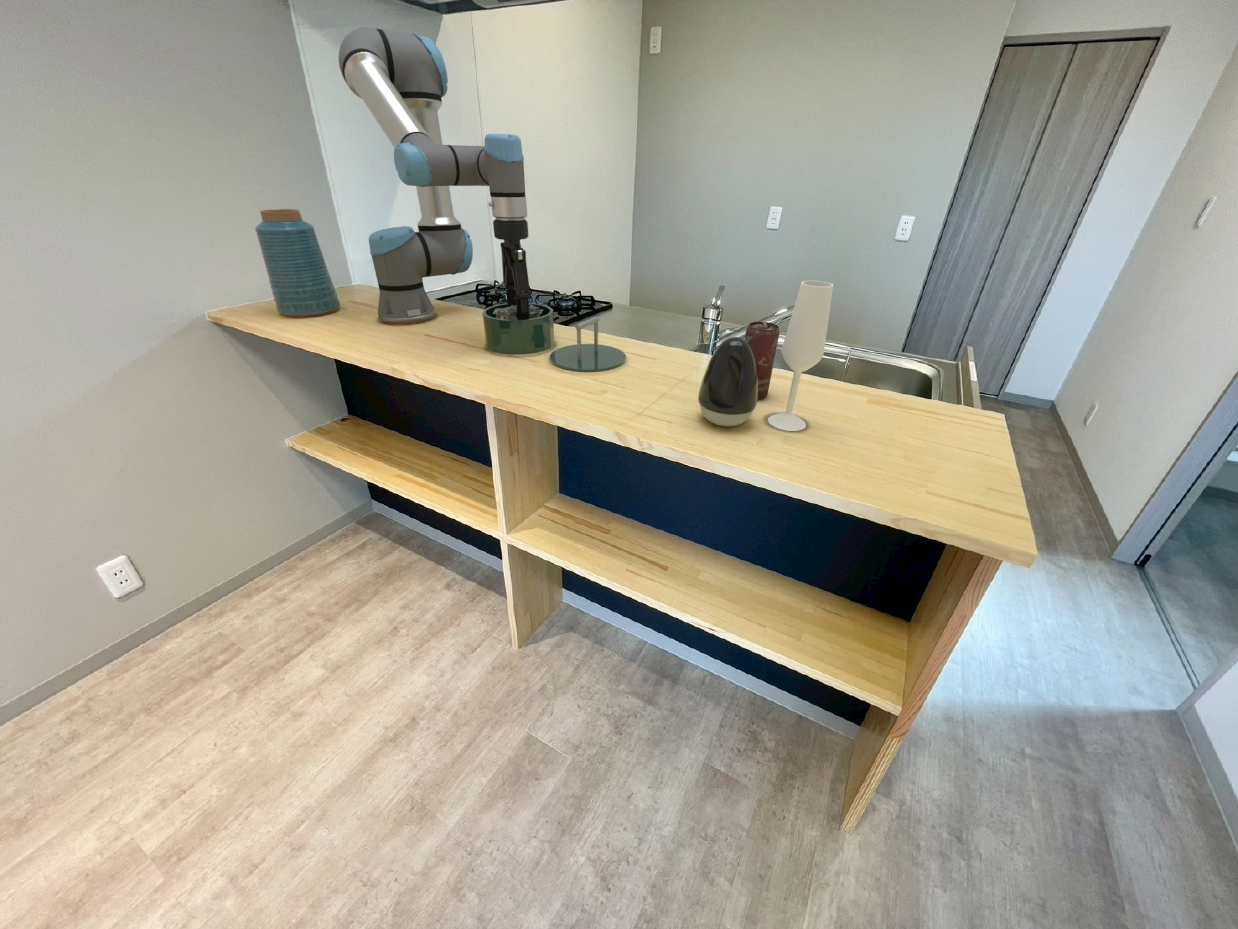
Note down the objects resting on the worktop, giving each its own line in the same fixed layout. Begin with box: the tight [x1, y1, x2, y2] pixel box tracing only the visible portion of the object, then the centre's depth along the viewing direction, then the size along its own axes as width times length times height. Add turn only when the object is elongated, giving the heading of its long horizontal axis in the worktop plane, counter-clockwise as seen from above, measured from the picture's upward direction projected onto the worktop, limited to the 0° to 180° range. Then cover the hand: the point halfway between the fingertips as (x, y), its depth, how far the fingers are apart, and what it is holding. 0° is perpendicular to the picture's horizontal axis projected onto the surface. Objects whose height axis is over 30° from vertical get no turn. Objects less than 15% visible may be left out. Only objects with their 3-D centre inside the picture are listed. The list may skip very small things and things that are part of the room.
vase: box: [254, 208, 341, 319], centre depth 139 cm, size 16×16×27 cm
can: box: [744, 320, 780, 401], centre depth 96 cm, size 6×6×14 cm
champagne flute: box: [767, 280, 834, 432], centre depth 82 cm, size 7×7×24 cm
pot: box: [481, 302, 555, 356], centre depth 120 cm, size 17×17×8 cm
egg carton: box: [493, 304, 543, 320], centre depth 118 cm, size 11×8×4 cm
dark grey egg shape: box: [697, 336, 758, 428], centre depth 85 cm, size 10×10×15 cm
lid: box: [549, 316, 627, 373], centre depth 112 cm, size 18×18×9 cm
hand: (519, 321), depth 119 cm, fingers closed on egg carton, 9 cm apart
